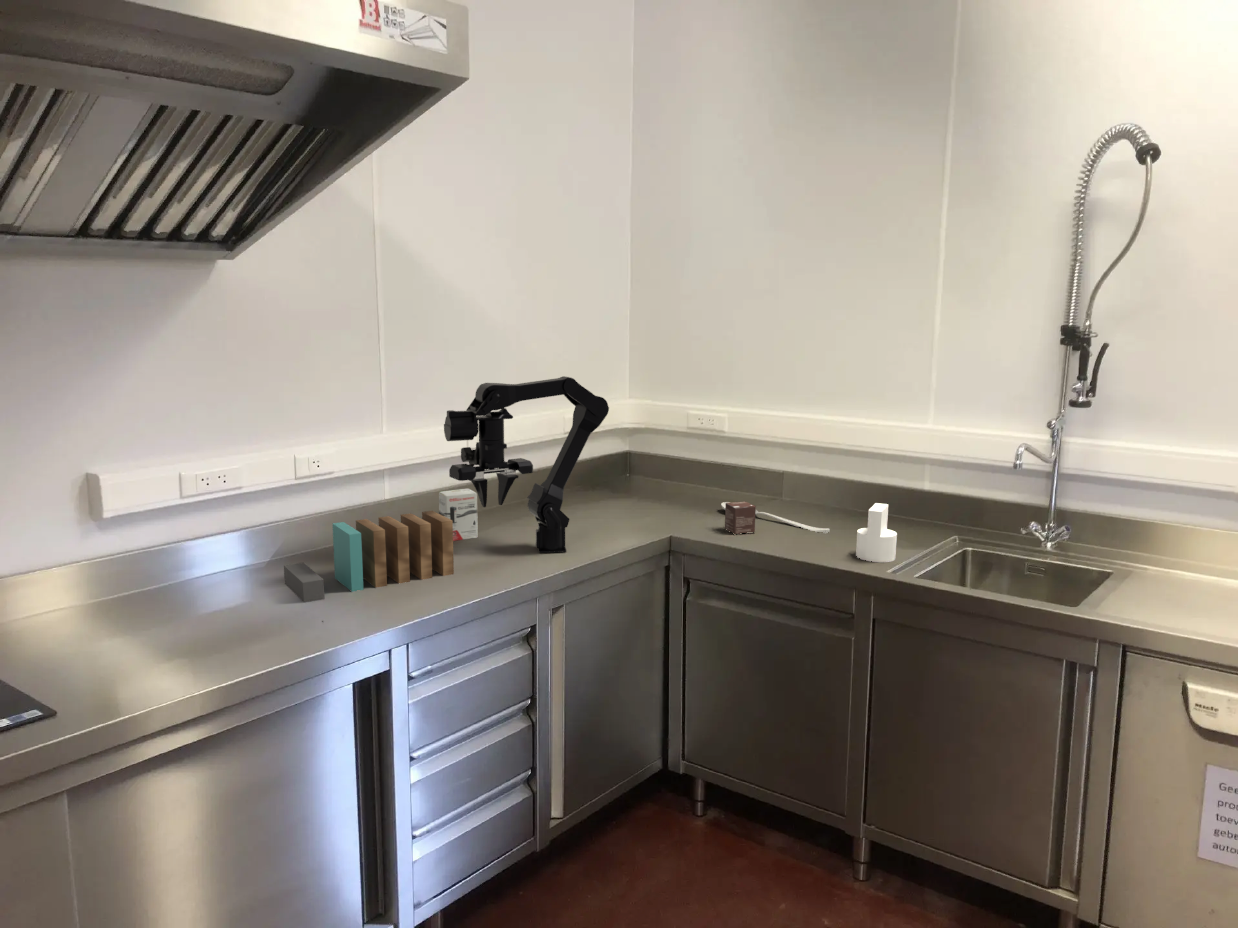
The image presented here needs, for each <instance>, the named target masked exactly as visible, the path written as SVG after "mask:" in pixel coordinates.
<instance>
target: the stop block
mask: <svg viewBox="0 0 1238 928" xmlns="http://www.w3.org/2000/svg"><path fill="white" fill-rule="evenodd" d="M283 574H284V575H283V576H284V578H283V579H284V585H285V586H286V587H287V588H288V589H289V590H291V592H292V593H294V594H295V596H297V597H298V598H299V599H300V600H301V601H302V602H303V603H308V602H315V601H319V600H324V599H325V582H324V579H323V577H321V576H320V575H319V574H317V573H316V572H315V571H314V570H313V569H311V568H310V566H308V565H307V563H306V562H305V563H304V562H298V563H290V564H284V565H283Z"/></svg>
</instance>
